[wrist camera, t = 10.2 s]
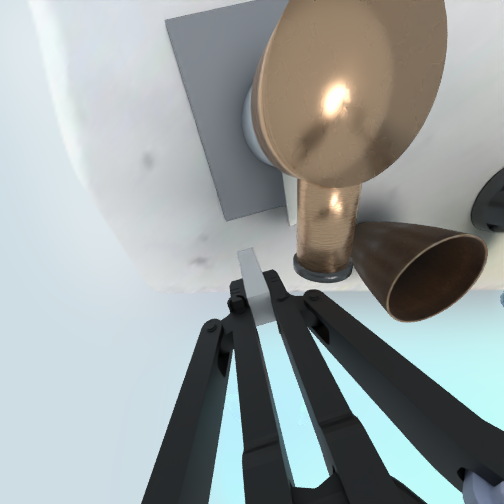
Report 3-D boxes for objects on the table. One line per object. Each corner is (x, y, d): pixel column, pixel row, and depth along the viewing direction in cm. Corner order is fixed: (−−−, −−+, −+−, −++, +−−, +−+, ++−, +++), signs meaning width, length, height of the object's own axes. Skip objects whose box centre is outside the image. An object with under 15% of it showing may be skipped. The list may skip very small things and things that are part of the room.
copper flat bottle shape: (241, 13, 15) (259, -75, 9) (391, 7, 17) (490, -73, 11) (263, 261, 26) (278, 294, 20) (353, 245, 28) (391, 270, 22)
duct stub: (352, 205, 37) (402, 224, 27) (231, 239, 36) (239, 272, 26) (360, -18, 24) (463, -134, 14) (166, 25, 22) (131, -72, 13)
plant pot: (397, 247, 44) (483, 291, 30) (338, 279, 45) (394, 337, 31) (387, 188, 37) (494, 211, 23) (317, 229, 38) (379, 274, 24)
